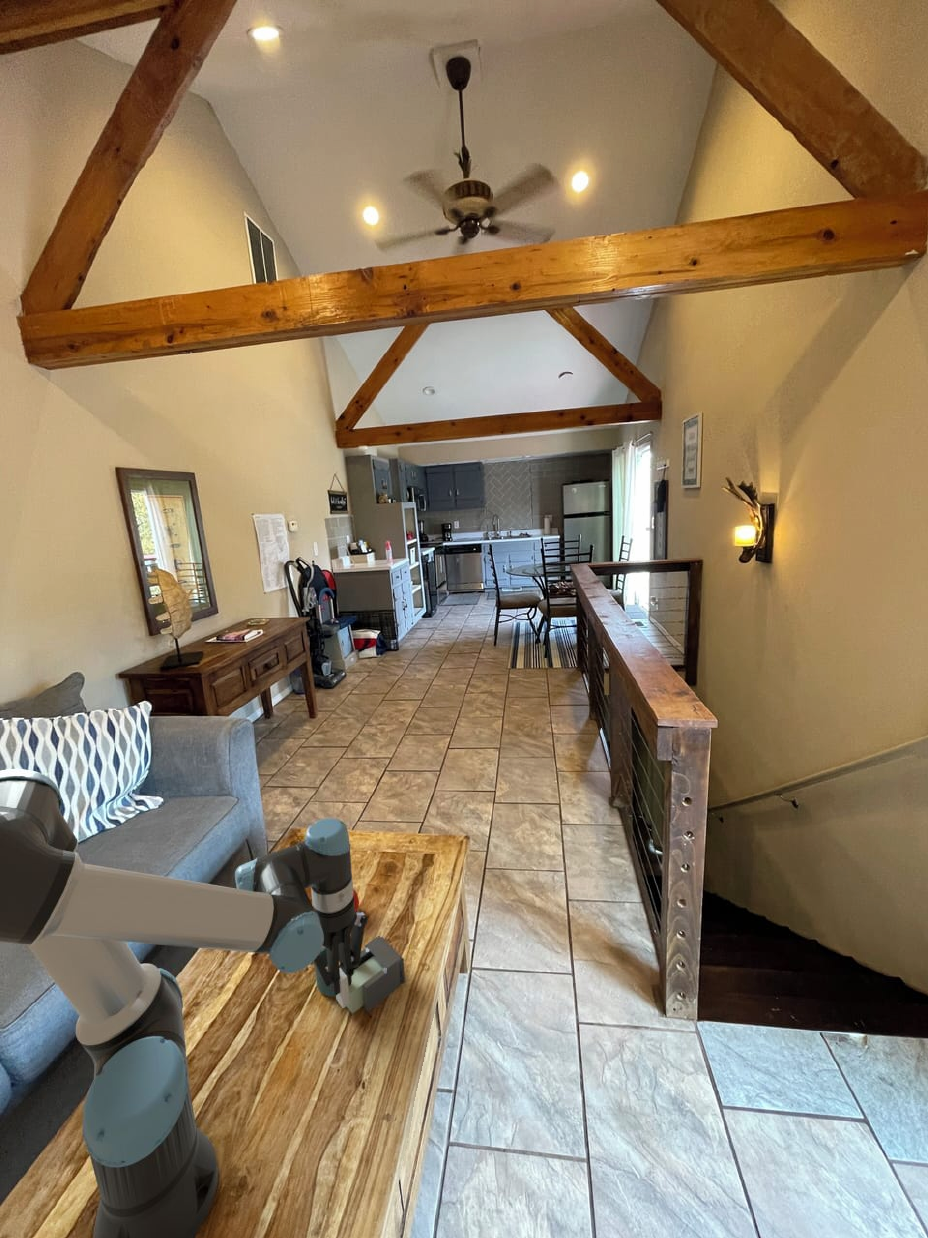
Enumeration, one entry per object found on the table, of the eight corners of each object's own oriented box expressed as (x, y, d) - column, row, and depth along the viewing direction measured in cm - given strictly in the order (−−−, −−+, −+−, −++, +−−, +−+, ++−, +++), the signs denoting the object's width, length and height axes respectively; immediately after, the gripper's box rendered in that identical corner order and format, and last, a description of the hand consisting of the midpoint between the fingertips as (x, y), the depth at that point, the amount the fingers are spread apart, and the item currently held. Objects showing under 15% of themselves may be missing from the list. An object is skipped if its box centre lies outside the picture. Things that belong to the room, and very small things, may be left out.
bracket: (364, 984, 105) (361, 948, 103) (319, 1004, 101) (315, 967, 99) (352, 951, 113) (349, 917, 111) (310, 968, 108) (306, 934, 106)
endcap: (367, 1012, 99) (365, 985, 98) (346, 986, 105) (344, 959, 104) (405, 982, 106) (403, 956, 104) (383, 958, 111) (381, 933, 110)
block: (352, 1014, 99) (350, 994, 98) (341, 1000, 102) (340, 980, 101) (393, 981, 106) (392, 962, 105) (382, 969, 109) (381, 950, 108)
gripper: (310, 931, 88) (322, 1039, 93) (374, 892, 96) (381, 992, 101) (291, 908, 93) (303, 1011, 98) (353, 872, 102) (361, 968, 107)
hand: (343, 1001), depth 100 cm, fingers closed
